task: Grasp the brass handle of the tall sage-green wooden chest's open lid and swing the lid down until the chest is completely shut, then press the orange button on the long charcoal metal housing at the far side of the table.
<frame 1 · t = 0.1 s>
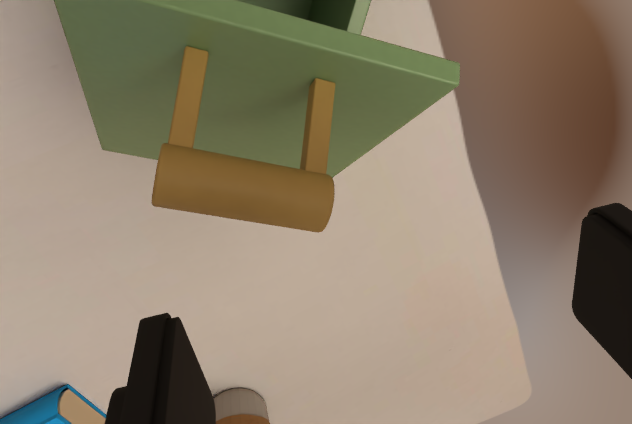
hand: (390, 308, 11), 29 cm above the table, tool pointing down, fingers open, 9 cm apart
lid: (229, 172, 20), point 19 cm above the table, hinge at 50.0°
coffee cup: (236, 405, 55), on the table
chest: (235, 5, 35), on the table
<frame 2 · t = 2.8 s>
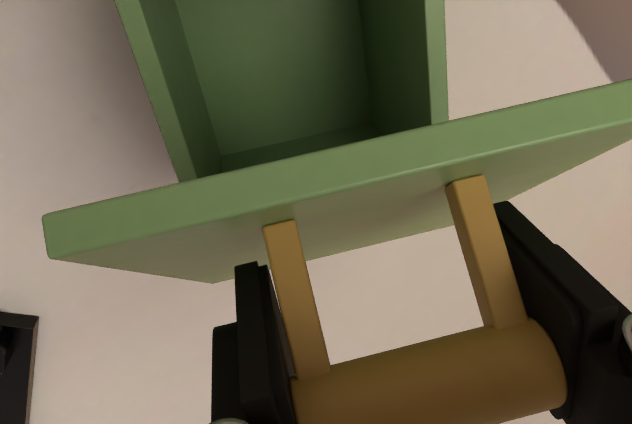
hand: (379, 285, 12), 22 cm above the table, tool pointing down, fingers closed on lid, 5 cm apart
lid: (366, 296, 15), point 19 cm above the table, hinge at 50.0°, touching gripper
chest: (276, 41, 30), on the table
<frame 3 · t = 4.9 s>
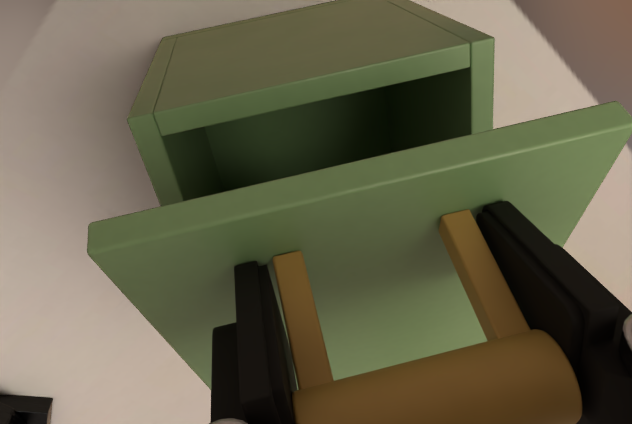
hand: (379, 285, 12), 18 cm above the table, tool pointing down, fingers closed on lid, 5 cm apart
lid: (390, 387, 15), point 17 cm above the table, hinge at 22.7°, touching gripper
chest: (300, 136, 29), on the table
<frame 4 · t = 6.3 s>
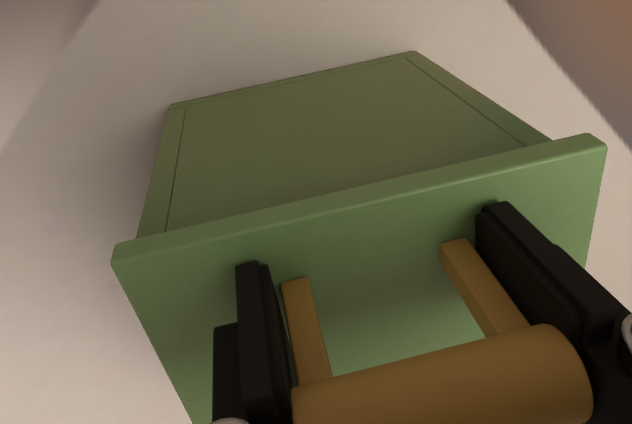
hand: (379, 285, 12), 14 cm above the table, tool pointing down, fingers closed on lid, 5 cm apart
chest: (318, 202, 26), on the table
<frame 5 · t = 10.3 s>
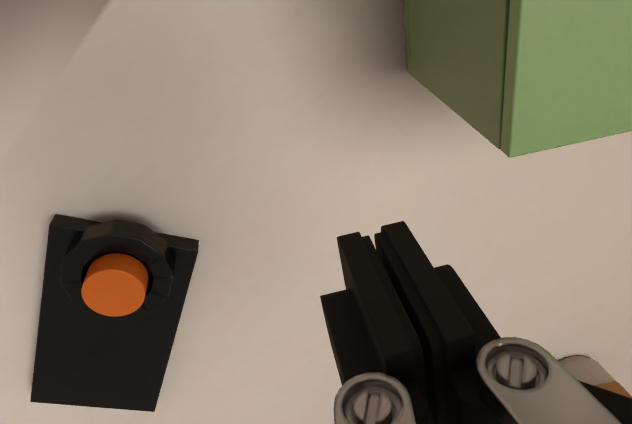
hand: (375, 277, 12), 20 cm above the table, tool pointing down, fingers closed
coffee cup: (565, 375, 49), on the table
button: (116, 285, 31), point 4 cm above the table, slide at 0.1 cm
button housing: (112, 318, 36), on the table
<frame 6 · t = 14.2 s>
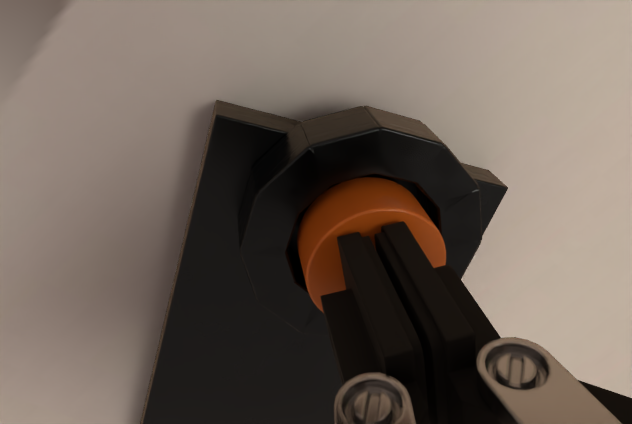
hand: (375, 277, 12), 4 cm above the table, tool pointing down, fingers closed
button: (368, 252, 13), point 3 cm above the table, slide at -0.1 cm, touching gripper
button housing: (289, 335, 19), on the table
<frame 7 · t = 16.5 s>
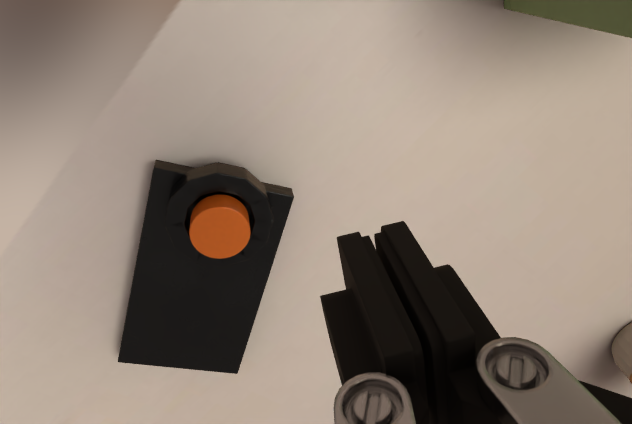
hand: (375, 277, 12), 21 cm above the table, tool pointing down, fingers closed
button: (220, 226, 31), point 4 cm above the table, slide at 0.1 cm
button housing: (201, 273, 36), on the table
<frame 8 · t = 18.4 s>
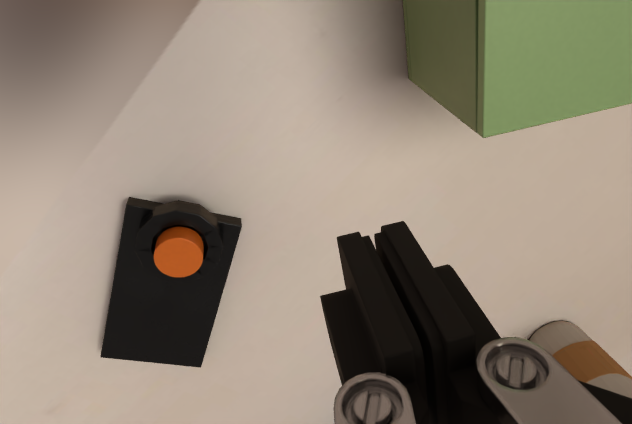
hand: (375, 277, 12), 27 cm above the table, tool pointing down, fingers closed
coffee cup: (550, 339, 56), on the table
button: (179, 252, 38), point 4 cm above the table, slide at 0.1 cm
button housing: (168, 285, 44), on the table
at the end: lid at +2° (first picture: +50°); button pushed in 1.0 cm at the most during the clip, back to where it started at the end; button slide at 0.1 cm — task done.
